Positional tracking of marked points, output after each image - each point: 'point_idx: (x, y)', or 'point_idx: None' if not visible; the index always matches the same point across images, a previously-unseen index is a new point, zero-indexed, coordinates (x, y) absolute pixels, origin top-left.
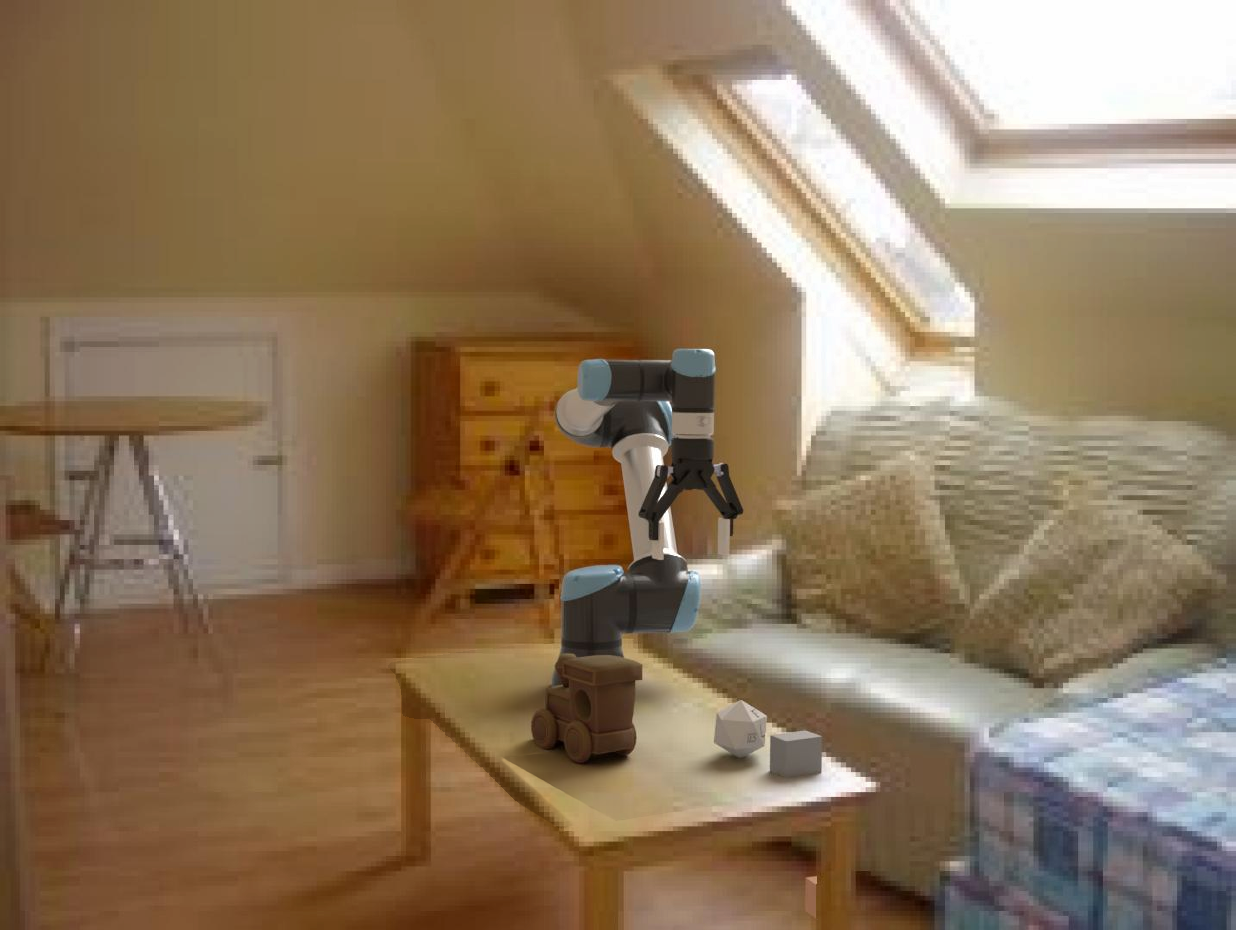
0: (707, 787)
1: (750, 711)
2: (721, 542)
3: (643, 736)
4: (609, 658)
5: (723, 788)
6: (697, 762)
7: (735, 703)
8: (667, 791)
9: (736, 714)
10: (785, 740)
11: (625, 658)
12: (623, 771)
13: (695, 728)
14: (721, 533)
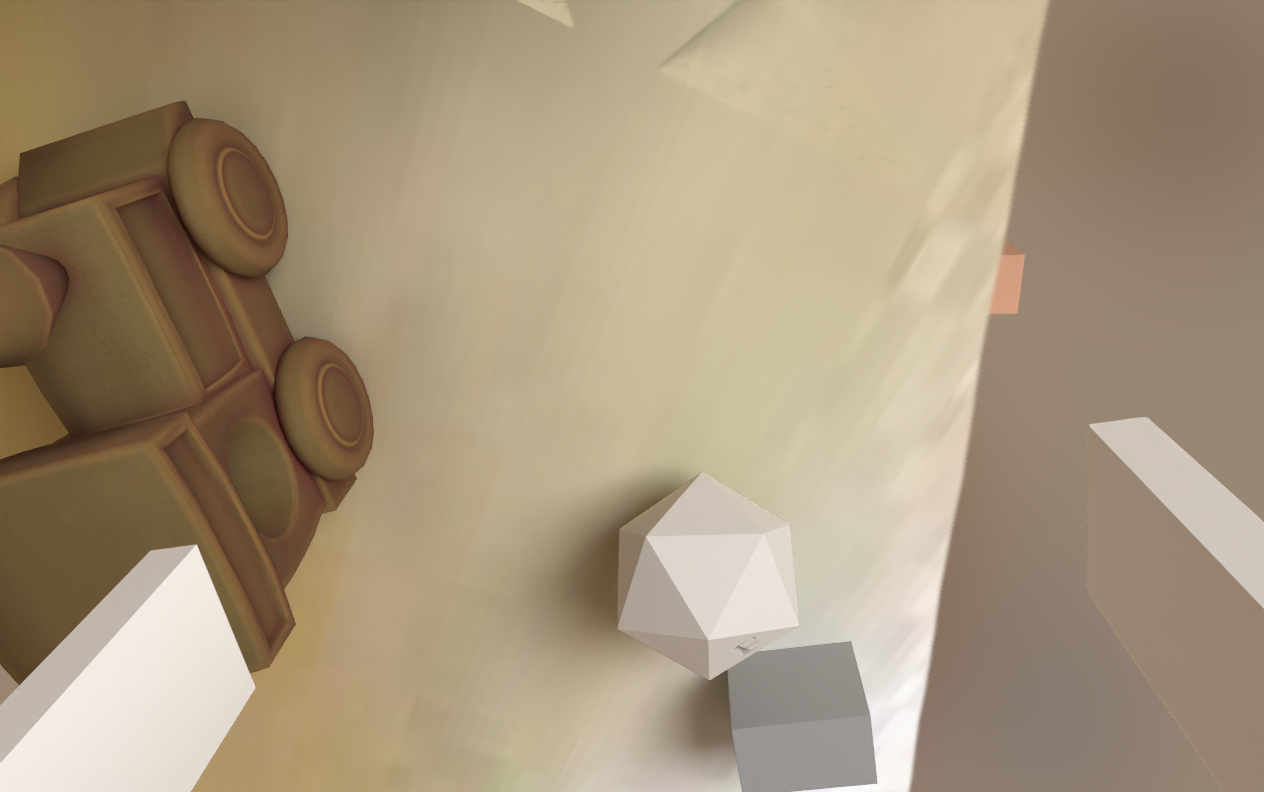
0: (501, 727)
1: (725, 654)
2: (1164, 592)
3: (489, 159)
4: (127, 560)
5: (537, 744)
6: (560, 521)
7: (689, 623)
8: (390, 727)
9: (671, 648)
10: (744, 790)
11: (210, 553)
12: (317, 542)
13: (732, 94)
14: (1238, 684)
